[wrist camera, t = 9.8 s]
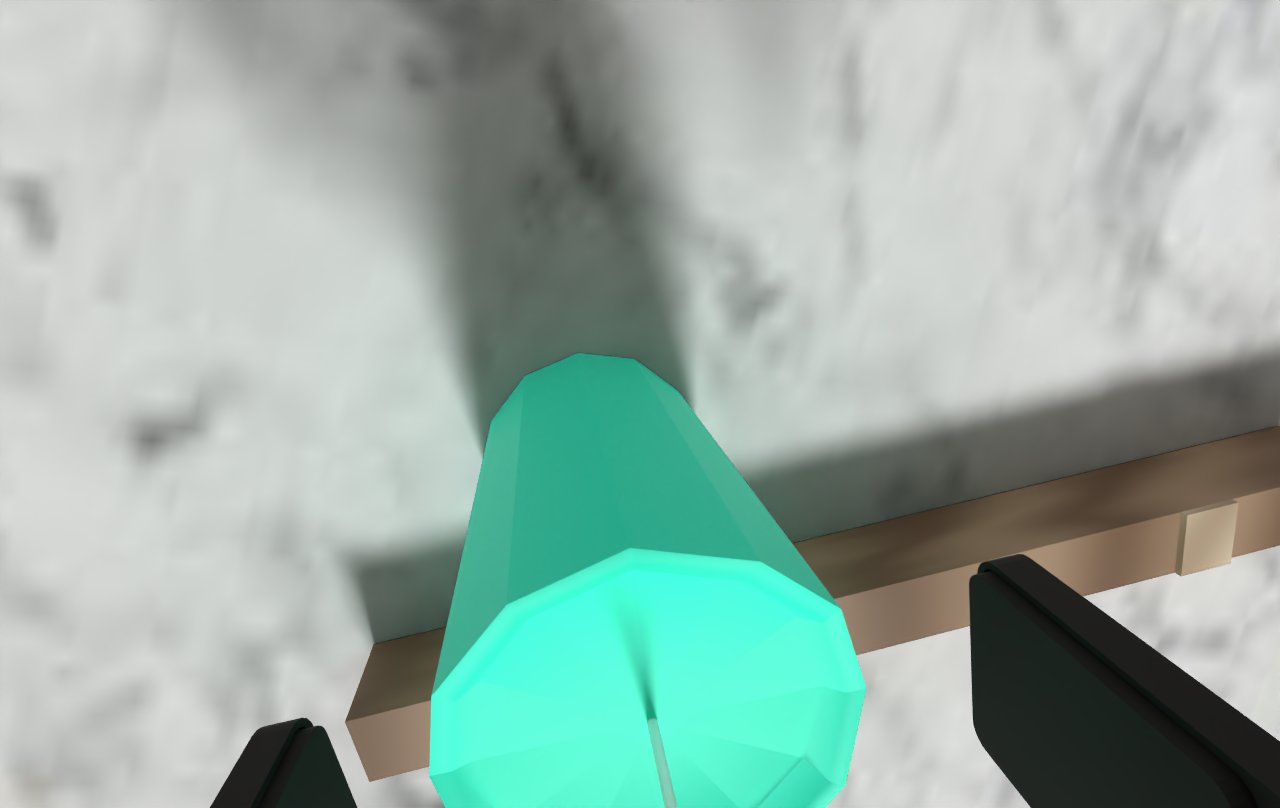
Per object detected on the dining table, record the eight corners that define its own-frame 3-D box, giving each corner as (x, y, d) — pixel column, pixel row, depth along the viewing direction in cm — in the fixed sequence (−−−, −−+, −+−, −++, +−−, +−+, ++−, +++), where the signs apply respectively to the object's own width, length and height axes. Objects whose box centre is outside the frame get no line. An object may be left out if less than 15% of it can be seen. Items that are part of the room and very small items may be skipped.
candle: (530, 318, 17) (513, 549, 6) (730, 395, 18) (1037, 702, 7) (455, 515, 18) (318, 1024, 7) (648, 573, 20) (797, 1071, 8)
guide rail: (1279, 425, 22) (1399, 462, 19) (1271, 479, 22) (1386, 522, 19) (373, 644, 19) (342, 728, 16) (393, 698, 20) (367, 788, 17)
